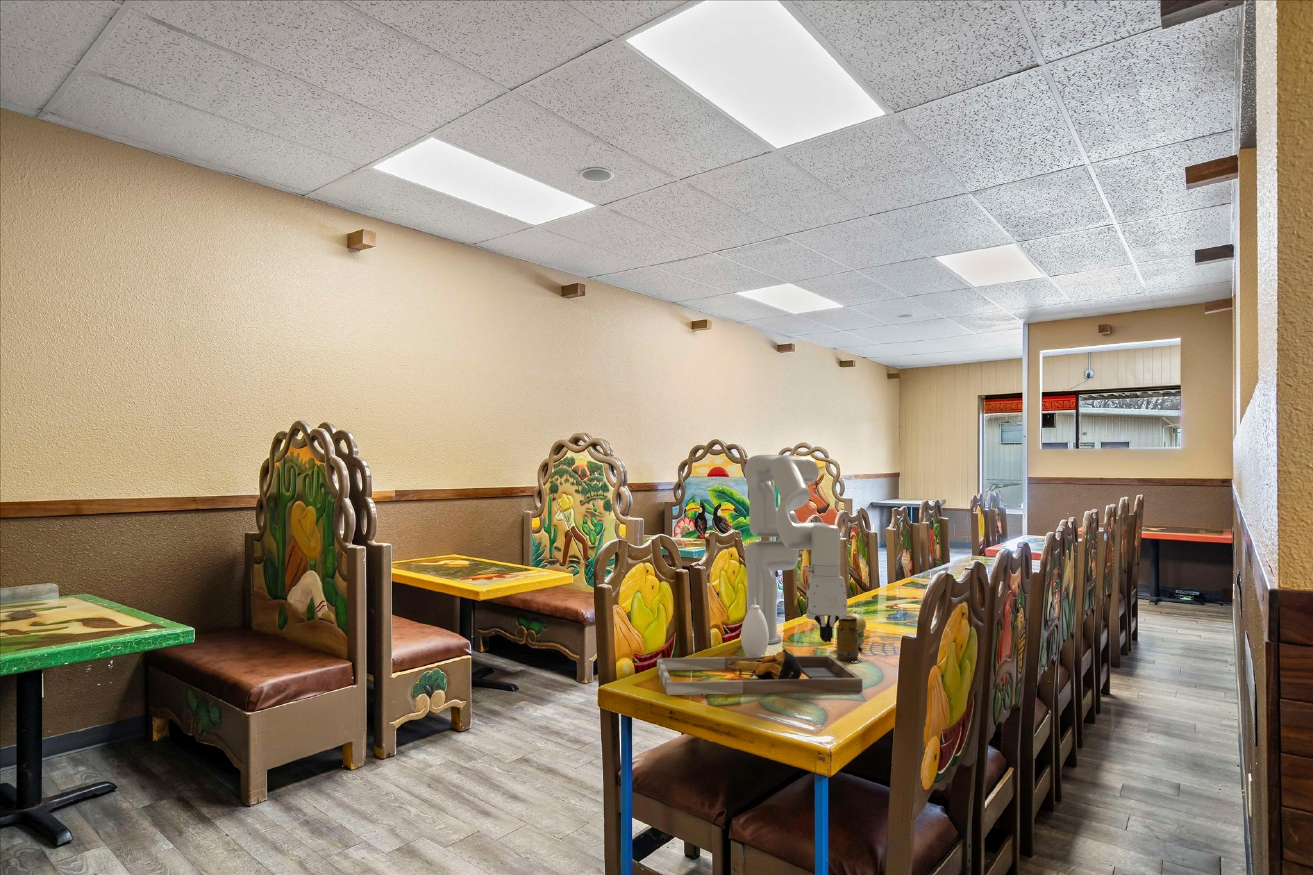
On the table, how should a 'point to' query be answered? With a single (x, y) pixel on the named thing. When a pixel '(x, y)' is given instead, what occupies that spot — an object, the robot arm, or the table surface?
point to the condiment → (848, 640)
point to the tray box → (815, 667)
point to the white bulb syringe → (754, 632)
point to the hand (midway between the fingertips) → (826, 640)
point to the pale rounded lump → (859, 626)
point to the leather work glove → (772, 666)
